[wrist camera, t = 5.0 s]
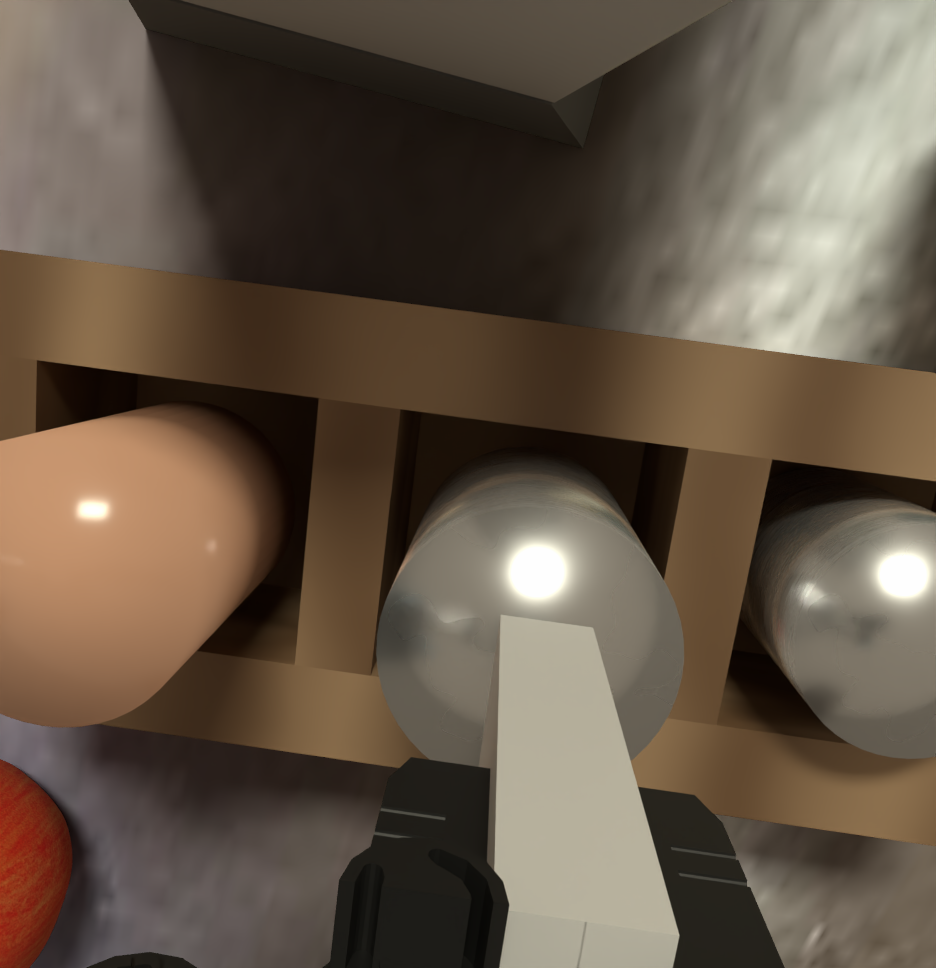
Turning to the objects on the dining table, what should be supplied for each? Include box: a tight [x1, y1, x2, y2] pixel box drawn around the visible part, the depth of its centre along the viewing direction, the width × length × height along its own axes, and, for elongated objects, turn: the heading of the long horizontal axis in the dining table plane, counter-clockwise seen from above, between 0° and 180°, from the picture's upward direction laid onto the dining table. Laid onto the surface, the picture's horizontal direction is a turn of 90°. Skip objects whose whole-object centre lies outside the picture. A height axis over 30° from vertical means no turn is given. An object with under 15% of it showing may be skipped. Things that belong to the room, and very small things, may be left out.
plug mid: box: [376, 446, 684, 767], centre depth 18 cm, size 6×6×7 cm
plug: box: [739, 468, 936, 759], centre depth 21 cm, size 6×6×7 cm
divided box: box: [0, 250, 936, 846], centre depth 23 cm, size 28×12×6 cm, turn 83°
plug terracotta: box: [0, 401, 295, 727], centre depth 18 cm, size 6×6×7 cm
